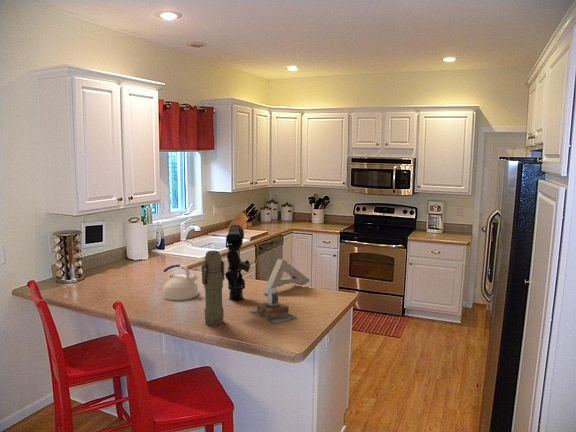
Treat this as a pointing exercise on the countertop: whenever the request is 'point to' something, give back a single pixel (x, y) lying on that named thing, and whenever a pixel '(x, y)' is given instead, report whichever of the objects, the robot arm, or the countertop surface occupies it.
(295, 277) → the wall bracket
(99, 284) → the countertop surface
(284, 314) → the slotted post block
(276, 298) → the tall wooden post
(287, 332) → the countertop surface
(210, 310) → the olive cylinder
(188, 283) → the kettle
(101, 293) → the countertop surface
